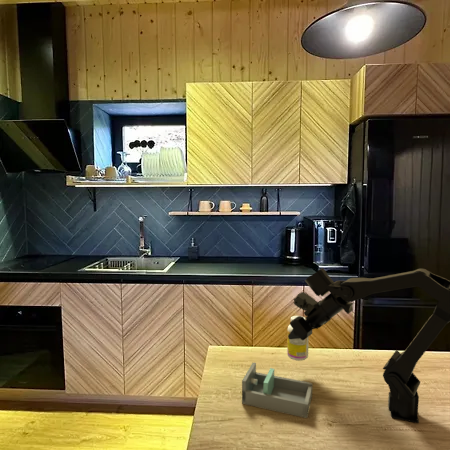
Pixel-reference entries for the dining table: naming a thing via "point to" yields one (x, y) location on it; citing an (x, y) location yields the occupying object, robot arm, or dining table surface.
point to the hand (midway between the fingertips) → (294, 334)
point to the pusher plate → (269, 382)
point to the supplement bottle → (297, 346)
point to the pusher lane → (277, 393)
